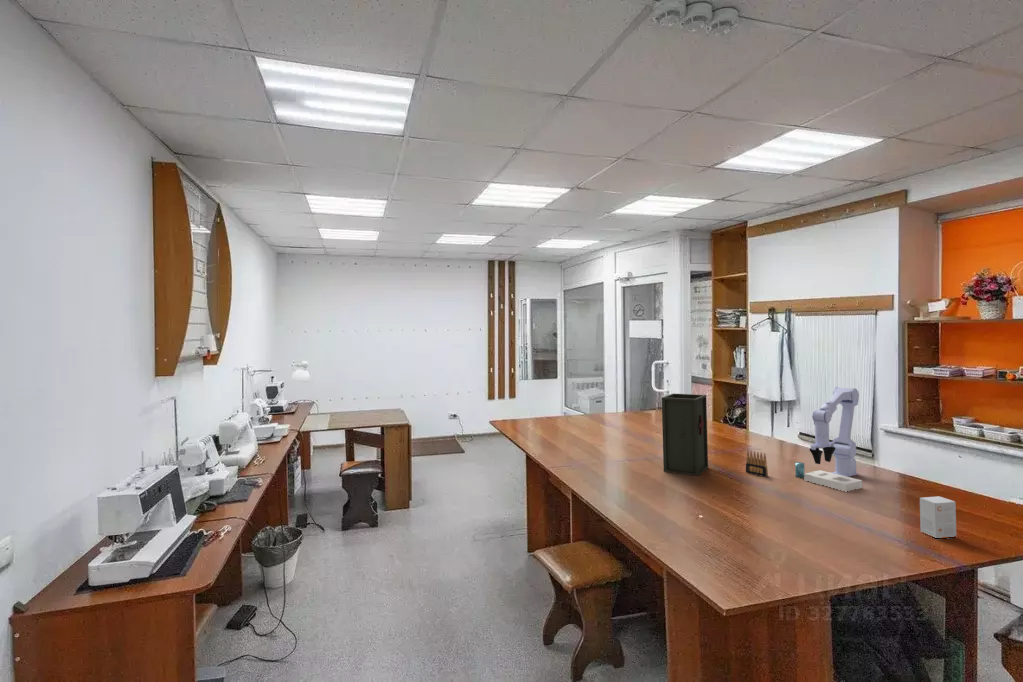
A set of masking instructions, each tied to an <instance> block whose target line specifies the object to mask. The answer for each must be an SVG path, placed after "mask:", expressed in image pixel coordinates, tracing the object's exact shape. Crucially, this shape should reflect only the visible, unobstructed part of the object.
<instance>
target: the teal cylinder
mask: <svg viewBox="0 0 1023 682" xmlns="http://www.w3.org/2000/svg"><path fill="white" fill-rule="evenodd" d="M794 464H795V465H794V466H795V467H794V468H795V478H797V477H800V478H799V479H804V474H805V473H806V472H805V462H801V461H800V462H799V461H798V462H797V461H796V462H795V463H794Z"/></svg>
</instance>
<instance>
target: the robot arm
mask: <svg viewBox="0 0 1023 682" xmlns="http://www.w3.org/2000/svg"><path fill="white" fill-rule="evenodd" d="M859 393H860V392H859V391H858V389H857V388H856V387H855V388H853V387H852V388H851V387H838V386H835V387H834V388H833V390H832V396H831V398H830V399H829V401H827V400H826V401H825V402H824V403H823V404H822V406H821V407H820V408H818V409H816V410H814V411H813V412H812V415H811V417H812V421H813V425H814V437H815V441H814V443H813V444H811V445H810V448H809V452H810V453H811V455H812V456H813V460H814V464H817V465H820V464H821V460H822V455H823V454H824V455H823V456H824V461H825V462H828V463H830V462H831V460H832V457H834V460H835V461H834V465H835V466H834V467H835V468H834V469H835V470H834V471H832V472H830V473H834V474H838V475H842V476H846V477H852V476H856V475H859V473H857V461H856V460H857V459H856V458H855V457H856V454H857V444H856V441H854V440H853V439H851V435H852V429H853V422H854V421H853V420H854V413H855V412H854V411H855V407H856V406H858V404H859V397H860V394H859ZM838 405H841V406H842V407H841V408H842V409H841V416H840V425H839V433H838V436H837V437H835V438H833V439H832V441H830V422H831V421H832V417H833V415H834V413H835V412H836V411H837V409H838V408H837V406H838ZM820 449H822V450H820Z"/></svg>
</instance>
